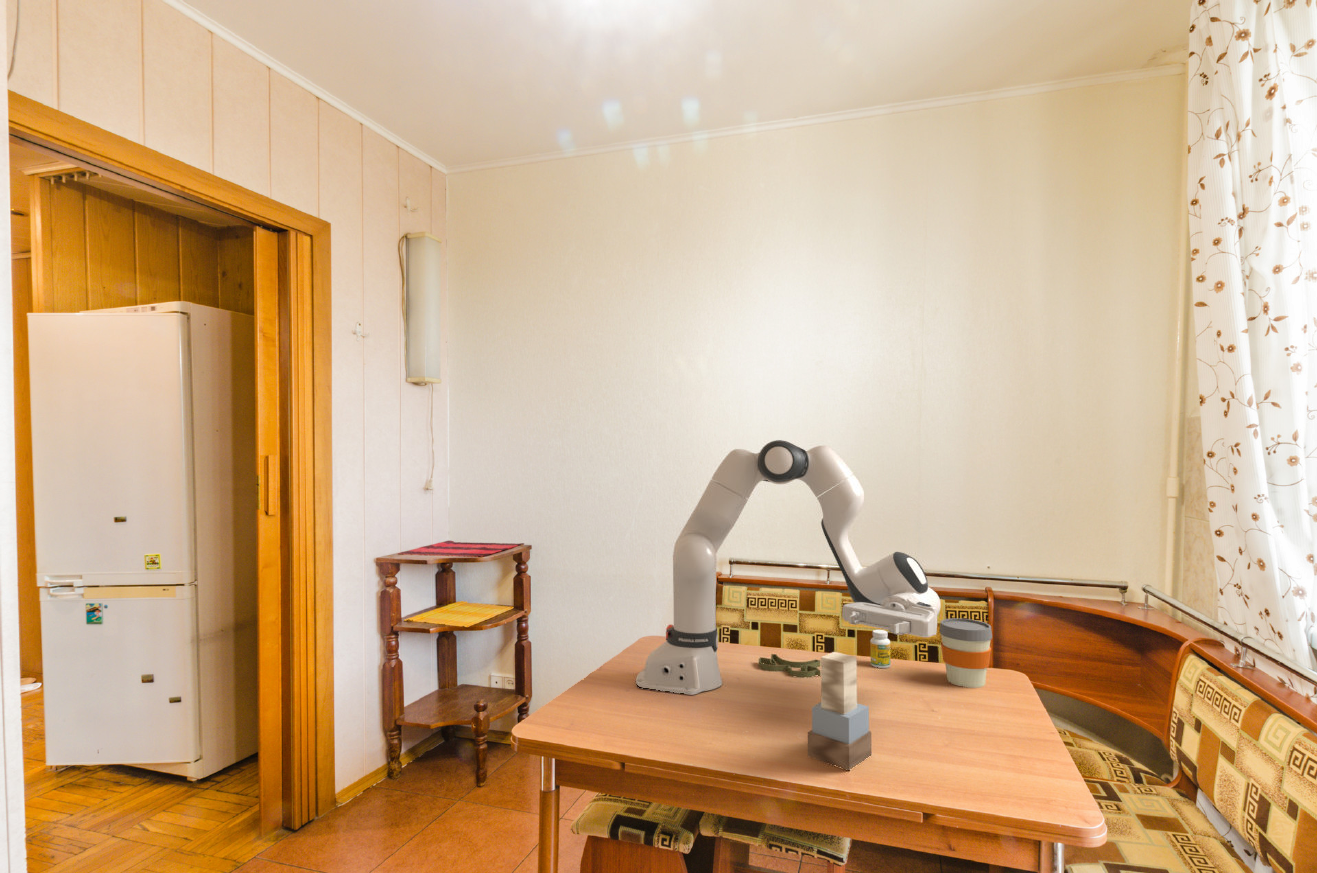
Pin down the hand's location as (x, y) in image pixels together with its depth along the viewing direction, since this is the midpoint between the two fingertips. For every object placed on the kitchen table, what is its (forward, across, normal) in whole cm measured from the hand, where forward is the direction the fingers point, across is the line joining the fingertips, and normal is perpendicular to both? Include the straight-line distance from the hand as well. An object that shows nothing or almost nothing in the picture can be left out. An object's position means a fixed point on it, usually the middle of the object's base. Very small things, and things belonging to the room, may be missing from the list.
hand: (871, 624), depth 147 cm
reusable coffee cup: (-45, +4, +22) cm, 51 cm away
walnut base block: (+16, +1, +23) cm, 28 cm away
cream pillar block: (+17, +2, +13) cm, 21 cm away
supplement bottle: (-42, -18, +23) cm, 51 cm away
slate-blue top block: (+16, +2, +18) cm, 24 cm away
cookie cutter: (-22, -35, +24) cm, 48 cm away
